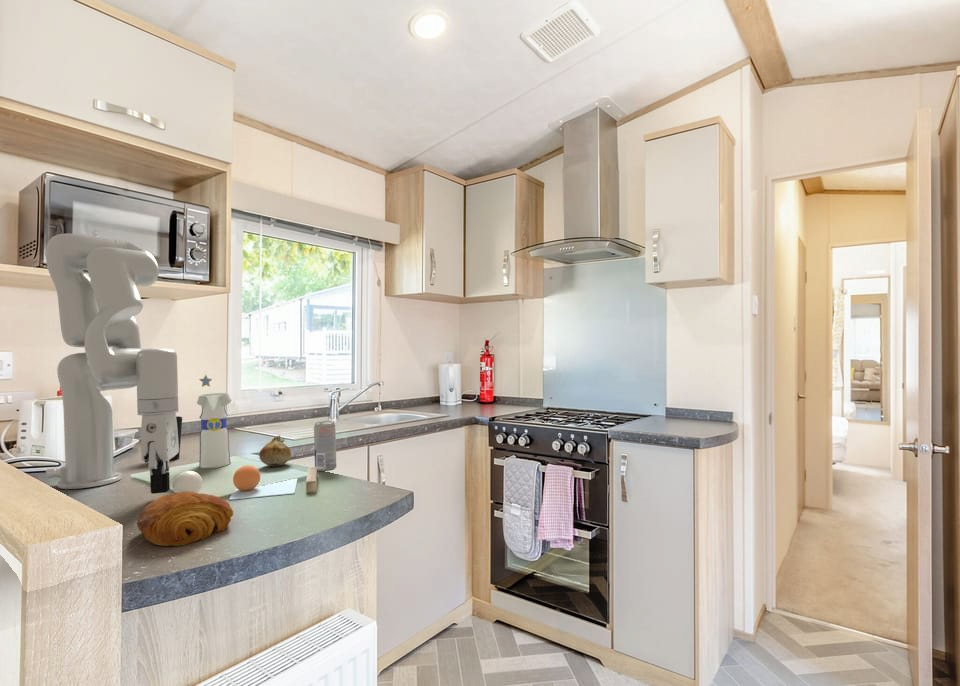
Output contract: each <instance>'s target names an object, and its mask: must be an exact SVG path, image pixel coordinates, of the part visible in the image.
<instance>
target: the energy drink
mask: <svg viewBox="0 0 960 686" xmlns="http://www.w3.org/2000/svg"><path fill="white" fill-rule="evenodd" d="M336 430H337V429H336V424H335V421H331V420H330V421H329V420H328V421H318V422H315V423H314V426H313V438H314V439H313V441H314V442H313V447H314V450H313V451H314V467H317V472H330V471H334V470H335V469H337V435H336V434H337V433H336V432H337V431H336Z"/></svg>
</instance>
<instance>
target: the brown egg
mask: <svg viewBox="0 0 960 686" xmlns="http://www.w3.org/2000/svg"><path fill="white" fill-rule="evenodd" d="M232 482H233V486H235V489H236V488H237V489H239V490H241V491H250V490H252V489H254V488H255V487H256V486H257V485H258V484H259V482H261V472H260V471H259V470H258V468H257V467H255V466H253V465H243V466H241V467H239V468H237V470H236V471H235V472H234V474H233V477H232Z"/></svg>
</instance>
